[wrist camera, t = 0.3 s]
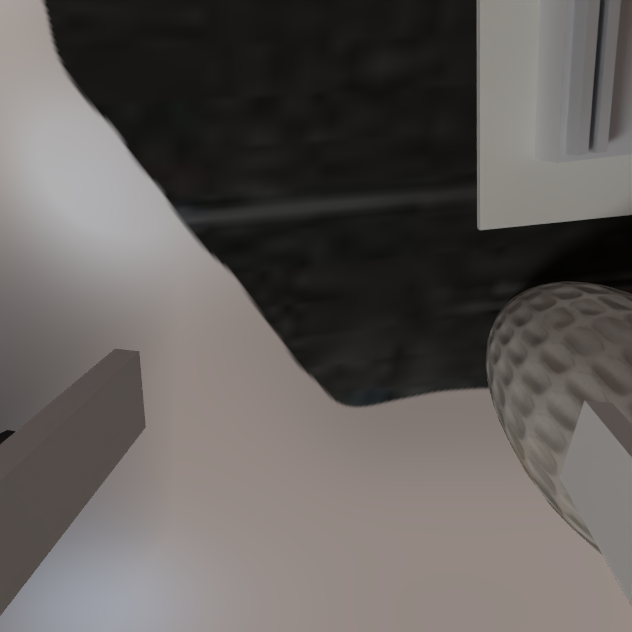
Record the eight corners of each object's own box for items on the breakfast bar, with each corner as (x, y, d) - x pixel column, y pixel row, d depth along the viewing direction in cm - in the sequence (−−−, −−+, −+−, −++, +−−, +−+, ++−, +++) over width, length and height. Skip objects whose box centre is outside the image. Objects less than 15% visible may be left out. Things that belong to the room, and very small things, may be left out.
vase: (644, 283, 39) (1224, 589, 12) (563, 403, 43) (860, 808, 17) (503, 230, 38) (797, 432, 12) (438, 358, 43) (547, 699, 17)
